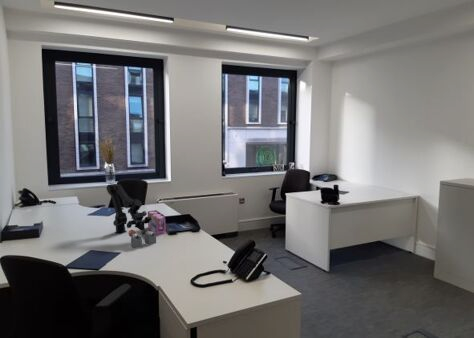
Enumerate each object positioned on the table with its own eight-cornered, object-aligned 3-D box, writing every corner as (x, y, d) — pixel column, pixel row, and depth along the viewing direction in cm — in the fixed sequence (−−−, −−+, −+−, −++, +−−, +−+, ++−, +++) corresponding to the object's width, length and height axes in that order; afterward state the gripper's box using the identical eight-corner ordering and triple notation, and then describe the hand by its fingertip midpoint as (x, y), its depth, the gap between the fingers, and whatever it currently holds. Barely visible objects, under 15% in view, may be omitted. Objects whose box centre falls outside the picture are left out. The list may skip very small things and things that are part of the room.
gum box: (166, 233, 284) (166, 216, 282) (156, 235, 280) (156, 217, 278) (157, 225, 304) (156, 210, 303) (147, 227, 300) (147, 211, 299)
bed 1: (131, 246, 255) (130, 235, 254) (139, 244, 258) (139, 234, 257) (133, 248, 250) (133, 237, 249) (142, 246, 254) (141, 236, 253)
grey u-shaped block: (144, 243, 261) (144, 233, 260) (151, 241, 265) (151, 231, 264) (149, 244, 257) (148, 234, 256) (156, 242, 262) (155, 232, 261)
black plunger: (141, 235, 263) (141, 229, 263) (147, 234, 267) (147, 227, 266) (149, 238, 258) (148, 231, 257) (154, 236, 261) (154, 229, 261)
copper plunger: (128, 237, 260) (128, 230, 260) (135, 235, 263) (135, 229, 262) (132, 240, 253) (132, 233, 252) (139, 239, 256) (139, 232, 255)
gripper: (127, 210, 259) (137, 228, 254) (149, 205, 273) (159, 222, 268) (122, 219, 266) (131, 236, 260) (143, 214, 280) (153, 230, 274)
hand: (144, 231), depth 265 cm, fingers closed, pressing on black plunger
